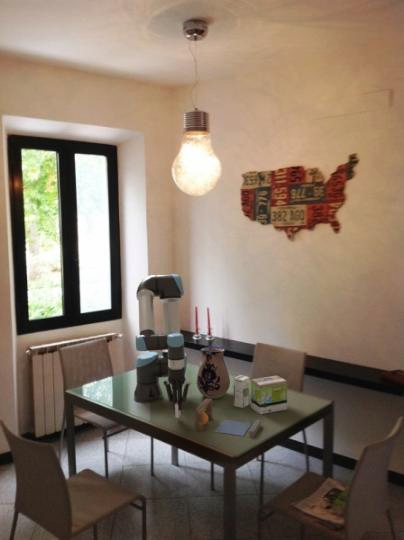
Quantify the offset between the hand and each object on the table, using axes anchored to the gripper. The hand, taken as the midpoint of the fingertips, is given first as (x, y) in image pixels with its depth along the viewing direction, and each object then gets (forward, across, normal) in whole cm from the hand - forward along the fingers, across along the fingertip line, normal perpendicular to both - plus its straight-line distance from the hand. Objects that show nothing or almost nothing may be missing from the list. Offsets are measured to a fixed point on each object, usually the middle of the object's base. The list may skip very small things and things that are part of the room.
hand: (178, 416), depth 228 cm
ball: (-1, +12, 0) cm, 12 cm away
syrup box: (+2, +23, +26) cm, 35 cm away
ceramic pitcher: (+2, +5, +36) cm, 36 cm away
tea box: (+2, +37, +26) cm, 45 cm away
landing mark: (+2, +27, 0) cm, 27 cm away
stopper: (+2, +37, 0) cm, 37 cm away
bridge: (+2, +13, 0) cm, 13 cm away
